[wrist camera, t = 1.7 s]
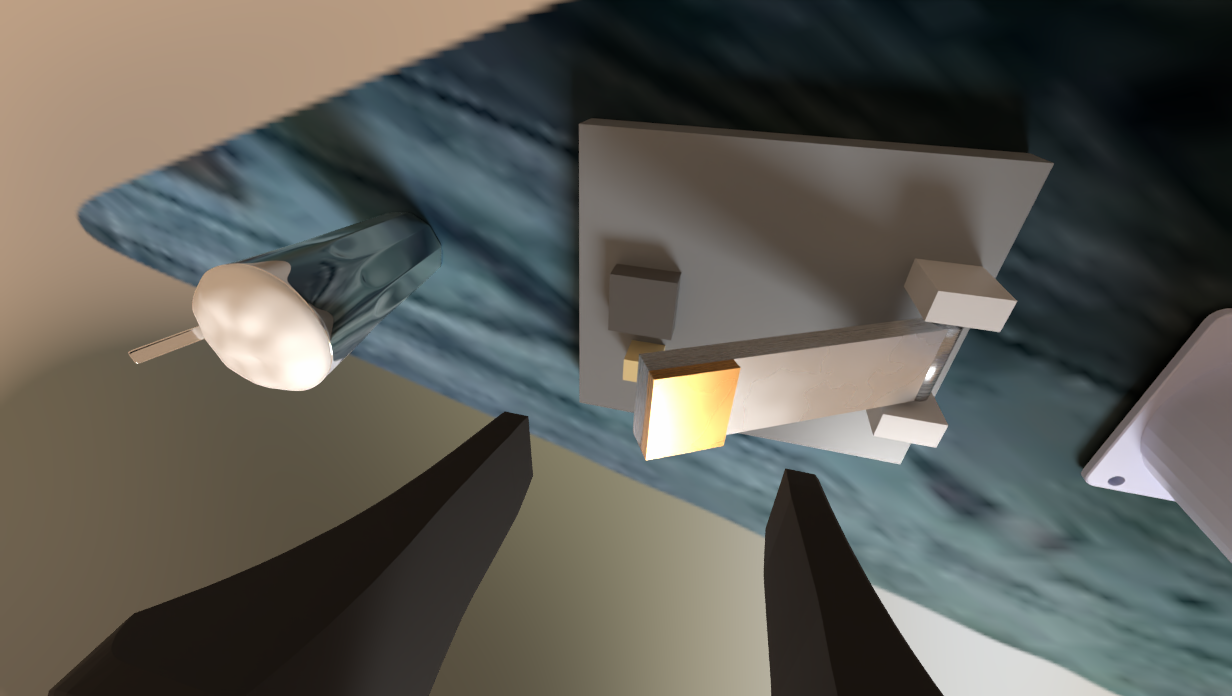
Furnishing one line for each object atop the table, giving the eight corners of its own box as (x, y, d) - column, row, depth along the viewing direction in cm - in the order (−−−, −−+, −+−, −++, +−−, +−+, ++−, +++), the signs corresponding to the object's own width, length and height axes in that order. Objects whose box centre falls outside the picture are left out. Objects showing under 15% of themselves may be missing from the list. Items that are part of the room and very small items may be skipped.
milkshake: (336, 196, 22) (82, 289, 14) (441, 194, 20) (229, 296, 12) (371, 288, 24) (171, 415, 16) (466, 292, 23) (302, 432, 15)
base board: (1029, 153, 15) (1106, 185, 12) (891, 439, 21) (916, 512, 18) (591, 118, 17) (552, 135, 14) (588, 383, 24) (561, 438, 21)
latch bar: (944, 313, 16) (979, 333, 15) (912, 381, 17) (942, 404, 16) (637, 351, 13) (654, 380, 12) (631, 429, 15) (645, 460, 13)
